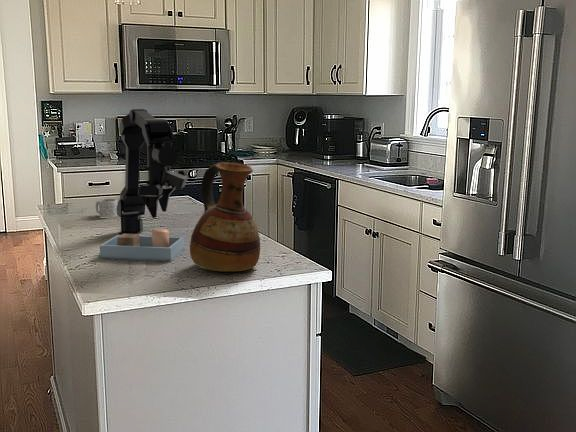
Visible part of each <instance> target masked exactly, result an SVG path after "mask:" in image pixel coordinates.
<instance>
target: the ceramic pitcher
mask: <svg viewBox="0 0 576 432" xmlns="http://www.w3.org/2000/svg"><path fill="white" fill-rule="evenodd" d="M253 172H254V168H252V167H251V166H249V165H246V164H244V163H240V162H232V161H231V162H229V161H227V162H225V161H220V162H218V163H214V164H212V165H211V166H209V167H208V168H207V169H206V170H205V172H204V173H203V177H202V180H201V184H200V194H201V198H202V203H203V211H204V212H203V214H202V215H201V216H200V218H199V220H198V221H197V223H196V224H195V226H194V228H193V231H192V233H191V237H190V241H189V242H190V243H189V255H190V258H191V260H192V261H193V263H194V264H195V265H196V266H198V267H199V268H202V269H204V270H207V271H215V272H220V273H222V272H225V273H226V272H228V273H229V272H231V273H232V272H234V273H235V272H242V271H246V270H251V269H253V268H254V267H255V266H256V265H257V264H258V262H259V260H260V254H261V237H260V234H259V228H258V226H257V223H256V220H255V219H254V217H253V216H252V214H251V213H250V212H249V211H248V210H247V209H246V208H245V206H244V202H243V193H244V187H245V183H246V180H247V178H248V177H249V175H251V173H253ZM218 173H219V175H220V177H221V178H220V179H221V193H220V196H219V199H218V201H217V203H215V200H214V195H213V183H214V180H215V178H216V176H217V174H218Z"/></svg>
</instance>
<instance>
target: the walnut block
mask: <svg viewBox="0 0 576 432" xmlns="http://www.w3.org/2000/svg"><path fill="white" fill-rule="evenodd" d="M119 235H120V236H119V237H117V240H118V246H140V240H139V236H140V233H139V234H119Z"/></svg>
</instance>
